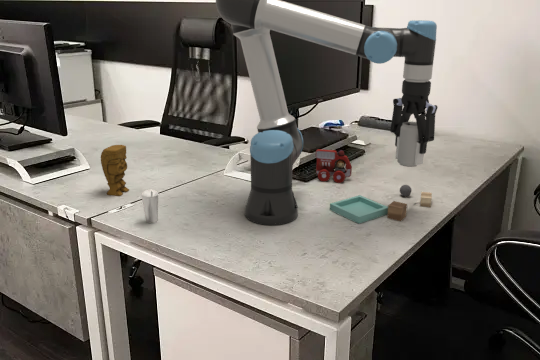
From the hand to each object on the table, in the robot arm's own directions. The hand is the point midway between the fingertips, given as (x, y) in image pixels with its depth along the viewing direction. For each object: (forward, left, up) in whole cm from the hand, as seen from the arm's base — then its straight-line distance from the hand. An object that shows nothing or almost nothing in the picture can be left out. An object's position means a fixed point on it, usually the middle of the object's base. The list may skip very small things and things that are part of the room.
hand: (408, 160), depth 149 cm
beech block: (+8, -1, -15) cm, 17 cm away
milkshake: (-65, +34, -15) cm, 75 cm away
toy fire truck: (0, +32, -15) cm, 35 cm away
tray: (-13, +6, -15) cm, 20 cm away
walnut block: (-7, -3, -15) cm, 17 cm away
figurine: (-65, +62, -15) cm, 91 cm away
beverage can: (0, 0, -1) cm, 1 cm away
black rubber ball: (+8, +7, -13) cm, 17 cm away
